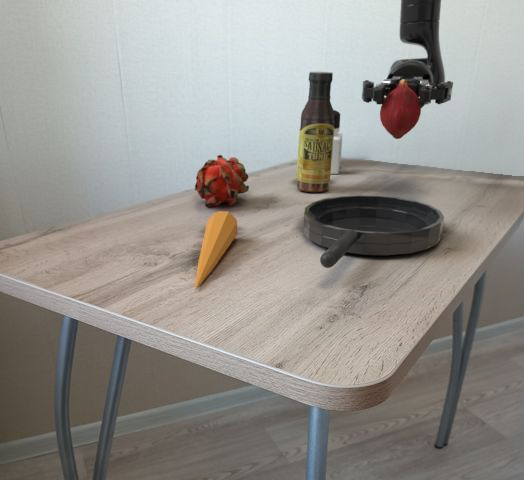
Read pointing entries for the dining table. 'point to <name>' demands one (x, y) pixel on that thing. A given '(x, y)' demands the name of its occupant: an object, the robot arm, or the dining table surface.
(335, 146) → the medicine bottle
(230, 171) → the dragon fruit
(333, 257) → the pan handle
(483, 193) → the dining table surface
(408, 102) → the onion
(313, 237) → the pan
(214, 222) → the carrot
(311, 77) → the sauce bottle
